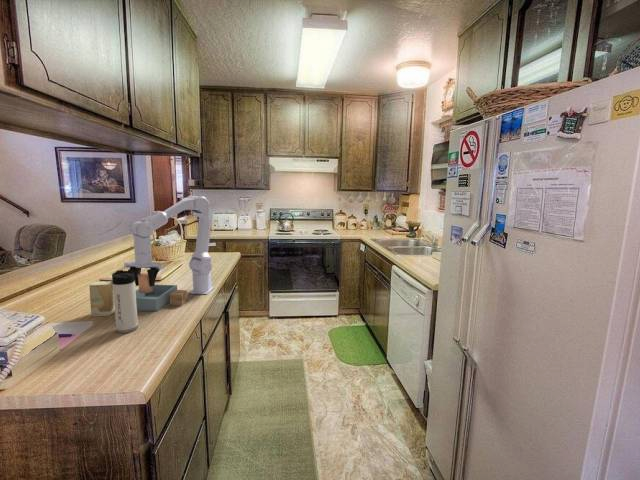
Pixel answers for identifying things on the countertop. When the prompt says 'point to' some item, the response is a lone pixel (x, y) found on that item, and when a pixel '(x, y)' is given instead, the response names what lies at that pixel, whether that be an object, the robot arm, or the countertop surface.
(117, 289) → the travel mug
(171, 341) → the countertop surface
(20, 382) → the countertop surface
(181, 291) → the walnut cube
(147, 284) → the terracotta capsule
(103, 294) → the skincare box
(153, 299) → the tote
